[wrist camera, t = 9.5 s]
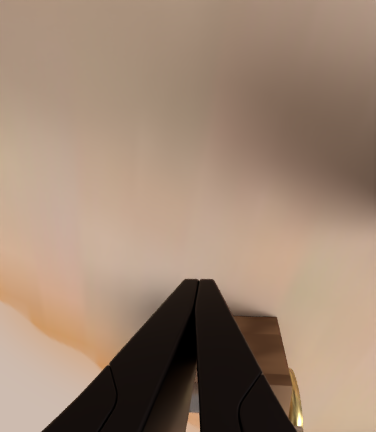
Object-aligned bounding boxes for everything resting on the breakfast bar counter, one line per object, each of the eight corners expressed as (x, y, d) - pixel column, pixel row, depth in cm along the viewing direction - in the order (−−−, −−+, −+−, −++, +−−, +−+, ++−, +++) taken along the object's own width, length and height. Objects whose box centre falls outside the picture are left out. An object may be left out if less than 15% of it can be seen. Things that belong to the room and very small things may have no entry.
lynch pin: (290, 354, 24) (308, 427, 19) (285, 392, 26) (300, 467, 21) (174, 349, 26) (162, 416, 20) (179, 385, 28) (169, 453, 23)
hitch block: (276, 317, 24) (292, 386, 18) (269, 404, 29) (280, 477, 23) (206, 315, 24) (202, 380, 19) (211, 399, 30) (209, 470, 24)
